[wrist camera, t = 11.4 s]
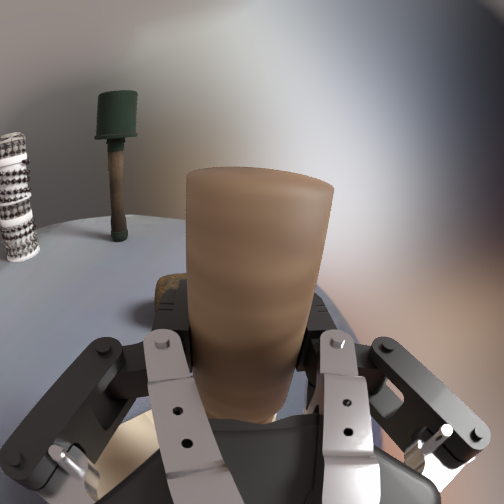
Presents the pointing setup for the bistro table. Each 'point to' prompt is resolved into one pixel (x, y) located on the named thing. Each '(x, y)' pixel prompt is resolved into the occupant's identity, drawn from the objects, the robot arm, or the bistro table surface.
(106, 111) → the potato masher grenade
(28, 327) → the bistro table surface
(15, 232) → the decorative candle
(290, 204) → the peg
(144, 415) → the board
